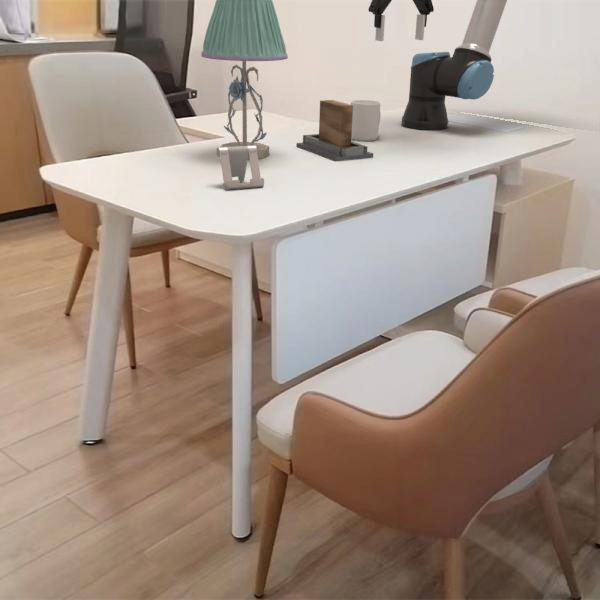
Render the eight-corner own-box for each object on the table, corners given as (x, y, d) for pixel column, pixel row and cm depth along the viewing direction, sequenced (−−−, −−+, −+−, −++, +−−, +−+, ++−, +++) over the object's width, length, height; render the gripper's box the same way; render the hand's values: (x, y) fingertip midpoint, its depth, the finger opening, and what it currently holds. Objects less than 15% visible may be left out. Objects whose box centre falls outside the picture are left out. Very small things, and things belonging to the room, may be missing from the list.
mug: (390, 137, 222) (393, 101, 217) (365, 142, 213) (368, 105, 209) (367, 133, 227) (370, 97, 223) (342, 138, 219) (344, 101, 215)
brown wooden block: (330, 144, 205) (332, 99, 200) (350, 151, 197) (353, 105, 192) (318, 145, 203) (320, 100, 198) (338, 152, 195) (340, 106, 191)
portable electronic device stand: (227, 191, 160) (226, 152, 157) (215, 182, 167) (215, 145, 163) (264, 188, 163) (264, 150, 160) (251, 179, 170) (251, 143, 166)
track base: (332, 143, 211) (333, 132, 210) (373, 157, 195) (373, 146, 194) (296, 146, 206) (296, 135, 204) (335, 161, 190) (335, 149, 189)
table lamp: (186, 153, 193) (181, -12, 178) (246, 143, 208) (246, -11, 192) (242, 168, 180) (242, -10, 164) (302, 155, 195) (307, -8, 179)
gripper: (433, -44, 202) (426, 38, 211) (358, -47, 191) (354, 40, 199) (451, -44, 196) (443, 40, 205) (374, -47, 185) (370, 42, 193)
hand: (399, 40), depth 202 cm, fingers open, 13 cm apart
